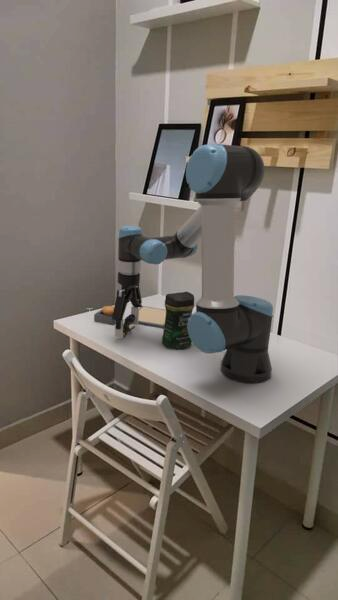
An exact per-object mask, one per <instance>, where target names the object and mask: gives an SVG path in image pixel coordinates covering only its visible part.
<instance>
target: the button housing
mask: <svg viewBox="0 0 338 600" xmlns="http://www.w3.org/2000/svg"><path fill="white" fill-rule="evenodd" d="M93 316H94V317H93V318H94V319H93V320H94V321H93V322H94V323H97V324H98V323H99V324H104V325H111V326H115V320H114V319H112V316H109V315H103V308H102V309H100V310H99V311H97V312H96V313H94V315H93Z"/></svg>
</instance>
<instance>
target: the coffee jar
mask: <svg viewBox="0 0 338 600" xmlns="http://www.w3.org/2000/svg"><path fill="white" fill-rule="evenodd" d="M194 308H195V296H194V294H192V292H189V291H183V292H175V293H167V294H166V295H165V299H164V309H165V310H166V318H165V325H164V329H163V332H162V338H161V339H162V340H161V344H162V345H163V347H165V348H166V349H170V350H173V351H174V350H175V351H177V350H182V349H183V350H184V349H188V348H190V347H191V345H192V341H191V339H190V337H189V334H188V329H187V323H188V319H189V318H190V316H191V315H192V314H193V310H194Z"/></svg>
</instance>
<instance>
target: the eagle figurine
mask: <svg viewBox="0 0 338 600" xmlns="http://www.w3.org/2000/svg"><path fill="white" fill-rule="evenodd" d="M124 319H125V322H124V324H123V338H125V337H126V336H127V335H128V333H129V334H133V331H132V330H133V329H134V328H135V327H136V325H134V326H132V327H131V328H130V326H131V325H133V324H132V323H134V322H135V316H134V314H131V313H130V314H129V315H127V316H126V317H125V318H124Z"/></svg>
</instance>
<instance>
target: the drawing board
mask: <svg viewBox="0 0 338 600" xmlns="http://www.w3.org/2000/svg"><path fill="white" fill-rule="evenodd" d="M138 308H139V320H138V325H139V326H140V325H141V326H146V327H153V328H159V329H163V330H164V325H165V318H166V308H164V309H163V308H159V307H152V306H151V307H150V306H144V305H142V307H138ZM123 320H124V322H125V318H123Z"/></svg>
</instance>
